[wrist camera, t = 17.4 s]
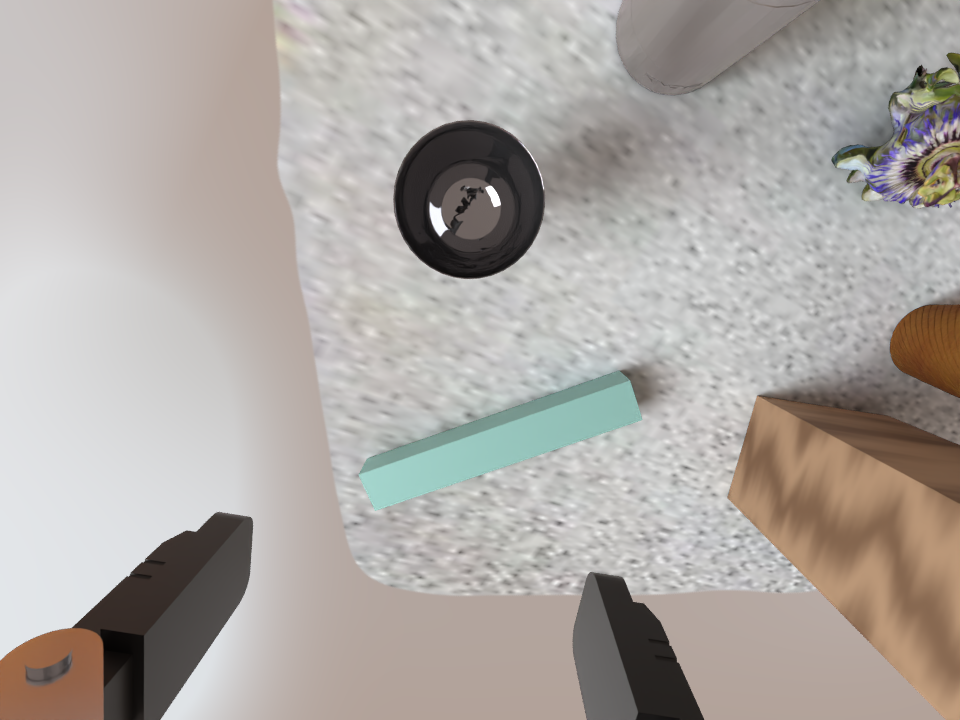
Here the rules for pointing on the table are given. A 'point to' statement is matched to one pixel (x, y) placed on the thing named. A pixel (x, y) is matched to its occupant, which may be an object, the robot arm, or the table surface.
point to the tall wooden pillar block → (865, 527)
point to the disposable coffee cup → (930, 346)
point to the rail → (500, 440)
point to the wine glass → (469, 199)
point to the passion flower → (914, 145)
